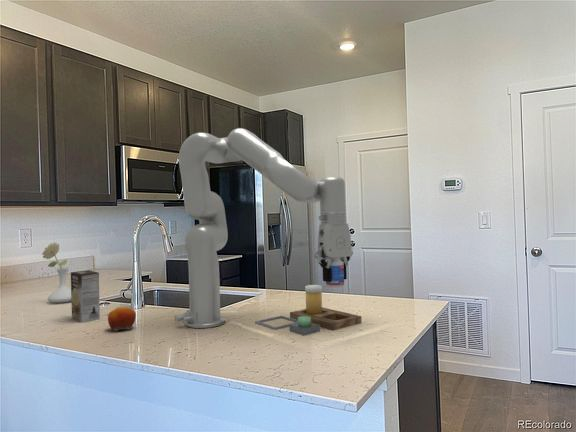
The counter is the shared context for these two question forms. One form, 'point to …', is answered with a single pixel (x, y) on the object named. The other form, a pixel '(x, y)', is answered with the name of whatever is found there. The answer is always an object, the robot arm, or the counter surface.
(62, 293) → the flower in vase
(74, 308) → the coffee box
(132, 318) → the fruit
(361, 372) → the counter surface
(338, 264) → the pill bottle
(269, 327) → the gray square frame
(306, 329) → the button housing
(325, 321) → the wooden bottle holder
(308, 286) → the seated bottle
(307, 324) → the button
